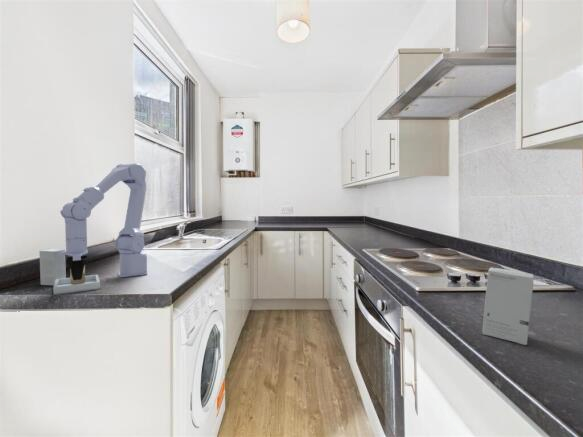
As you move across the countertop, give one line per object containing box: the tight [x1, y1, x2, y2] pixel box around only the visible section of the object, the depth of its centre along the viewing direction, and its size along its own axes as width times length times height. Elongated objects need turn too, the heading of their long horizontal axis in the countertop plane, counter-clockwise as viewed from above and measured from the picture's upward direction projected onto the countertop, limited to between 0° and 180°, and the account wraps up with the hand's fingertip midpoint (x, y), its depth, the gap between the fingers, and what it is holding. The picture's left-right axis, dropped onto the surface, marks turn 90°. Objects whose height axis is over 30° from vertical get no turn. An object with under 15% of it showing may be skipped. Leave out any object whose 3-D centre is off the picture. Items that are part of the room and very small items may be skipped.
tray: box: [52, 274, 101, 296], centre depth 97 cm, size 12×12×2 cm
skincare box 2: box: [482, 267, 535, 346], centre depth 65 cm, size 8×6×15 cm
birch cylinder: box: [69, 265, 86, 285], centre depth 97 cm, size 4×4×7 cm
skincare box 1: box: [39, 248, 67, 286], centre depth 101 cm, size 6×4×12 cm
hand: (77, 278), depth 97 cm, fingers closed on birch cylinder, 4 cm apart
